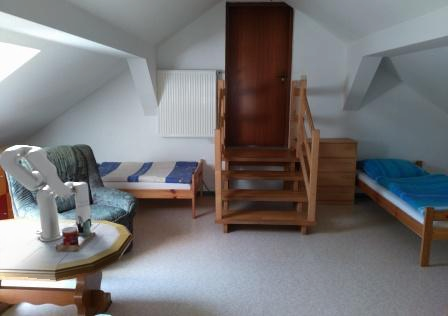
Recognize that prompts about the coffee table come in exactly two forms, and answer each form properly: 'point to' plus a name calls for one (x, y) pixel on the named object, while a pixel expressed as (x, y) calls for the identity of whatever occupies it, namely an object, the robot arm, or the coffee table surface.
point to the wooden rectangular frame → (75, 248)
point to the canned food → (70, 236)
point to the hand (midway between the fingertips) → (85, 229)
